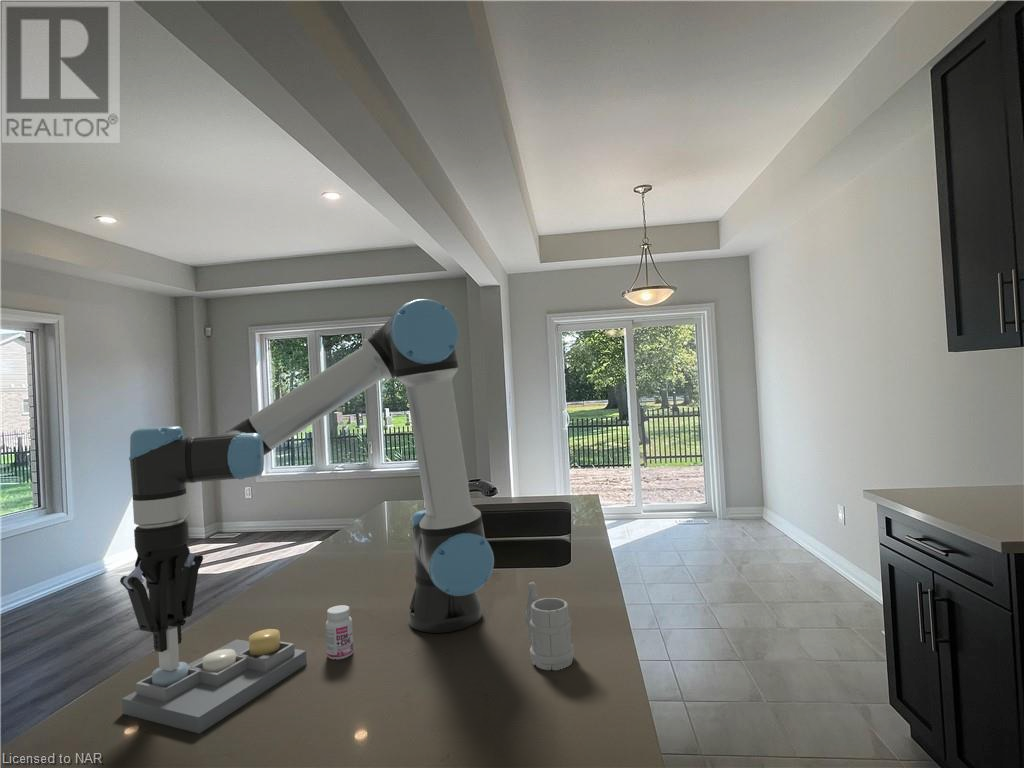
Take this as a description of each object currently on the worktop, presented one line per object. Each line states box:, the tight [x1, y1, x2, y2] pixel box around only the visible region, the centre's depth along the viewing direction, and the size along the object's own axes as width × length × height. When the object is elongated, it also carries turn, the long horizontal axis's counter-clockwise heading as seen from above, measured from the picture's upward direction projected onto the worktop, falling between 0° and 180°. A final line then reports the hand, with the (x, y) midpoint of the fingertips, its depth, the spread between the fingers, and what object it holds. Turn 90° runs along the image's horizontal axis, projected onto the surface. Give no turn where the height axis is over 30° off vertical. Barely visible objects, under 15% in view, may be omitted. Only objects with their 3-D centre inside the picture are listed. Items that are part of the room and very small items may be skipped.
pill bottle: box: [325, 604, 354, 661], centre depth 109 cm, size 5×5×8 cm
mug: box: [525, 581, 575, 671], centre depth 104 cm, size 8×12×12 cm, turn 28°
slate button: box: [151, 661, 188, 688], centre depth 95 cm, size 5×5×2 cm
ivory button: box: [203, 649, 236, 673], centre depth 99 cm, size 5×5×2 cm
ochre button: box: [248, 628, 281, 655], centre depth 103 cm, size 5×5×2 cm
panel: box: [121, 638, 308, 734], centre depth 99 cm, size 17×22×4 cm
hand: (169, 667), depth 95 cm, fingers closed
